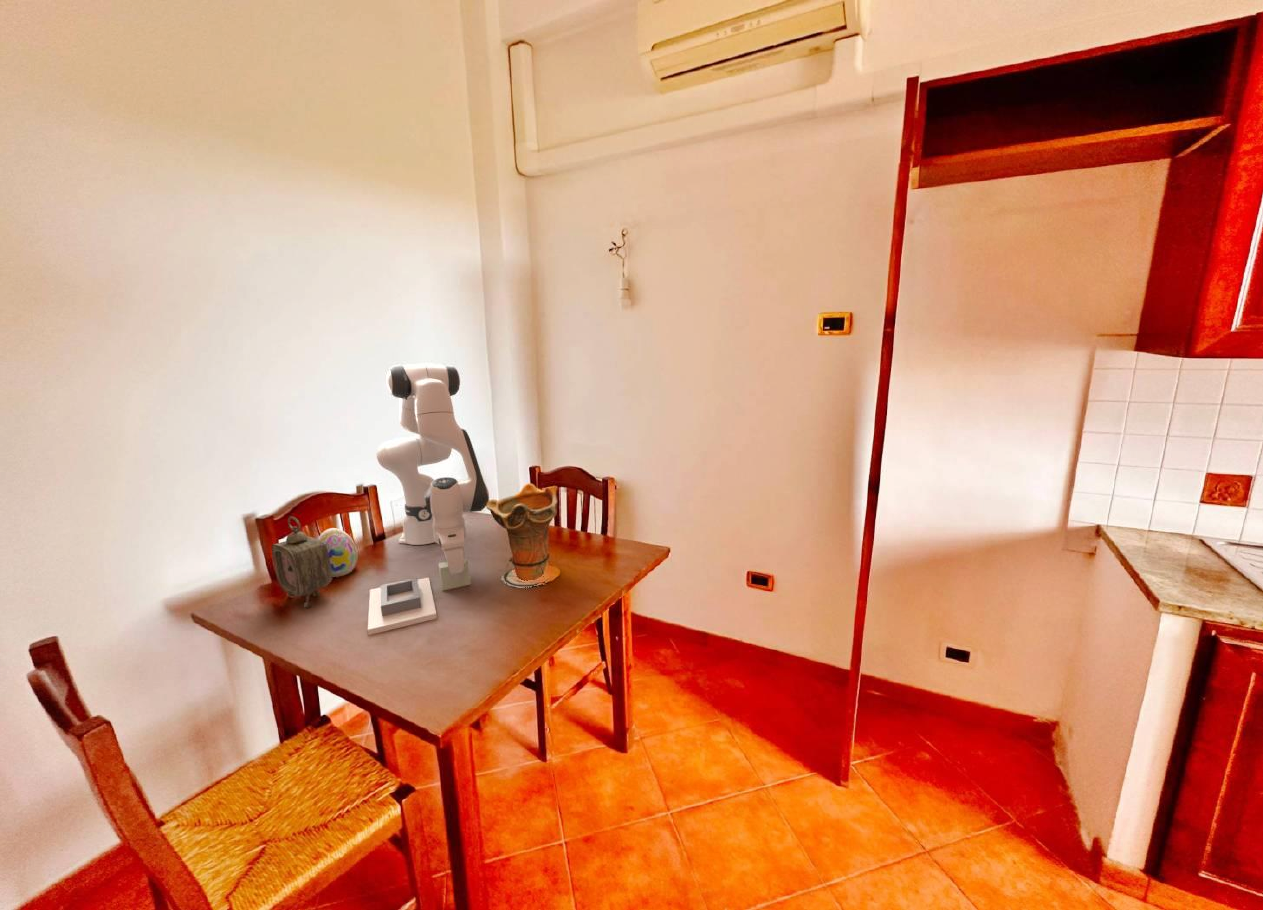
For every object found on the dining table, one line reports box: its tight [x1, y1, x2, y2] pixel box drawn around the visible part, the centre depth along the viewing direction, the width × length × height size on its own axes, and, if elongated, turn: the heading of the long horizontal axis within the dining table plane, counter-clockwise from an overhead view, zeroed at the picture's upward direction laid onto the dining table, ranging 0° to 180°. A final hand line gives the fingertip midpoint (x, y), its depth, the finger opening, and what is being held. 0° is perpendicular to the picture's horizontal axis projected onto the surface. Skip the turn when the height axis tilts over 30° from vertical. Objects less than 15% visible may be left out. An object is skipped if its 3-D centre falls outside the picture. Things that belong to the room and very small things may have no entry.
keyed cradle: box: [367, 577, 438, 636], centre depth 138 cm, size 24×16×4 cm, turn 26°
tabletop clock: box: [271, 516, 333, 608], centre depth 141 cm, size 14×9×25 cm, turn 56°
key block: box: [438, 557, 472, 592], centre depth 149 cm, size 4×8×7 cm, turn 116°
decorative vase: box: [485, 482, 559, 589], centre depth 151 cm, size 21×23×28 cm
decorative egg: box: [317, 527, 358, 578], centre depth 159 cm, size 12×12×15 cm
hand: (454, 576), depth 149 cm, fingers closed on key block, 4 cm apart
